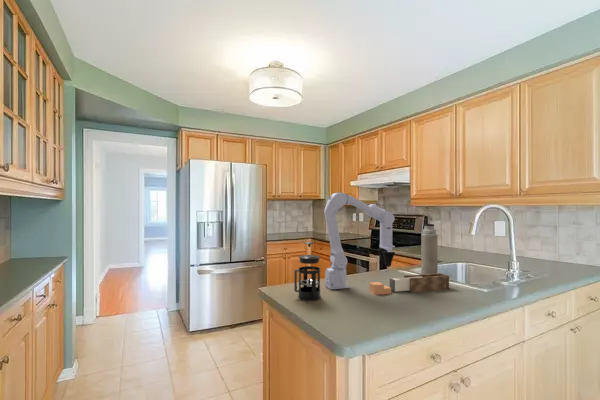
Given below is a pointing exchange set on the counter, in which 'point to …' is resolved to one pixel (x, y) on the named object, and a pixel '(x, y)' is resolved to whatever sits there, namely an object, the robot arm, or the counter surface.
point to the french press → (309, 287)
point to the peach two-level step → (379, 288)
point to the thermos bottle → (429, 250)
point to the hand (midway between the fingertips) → (386, 265)
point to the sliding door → (400, 284)
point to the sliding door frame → (428, 282)
